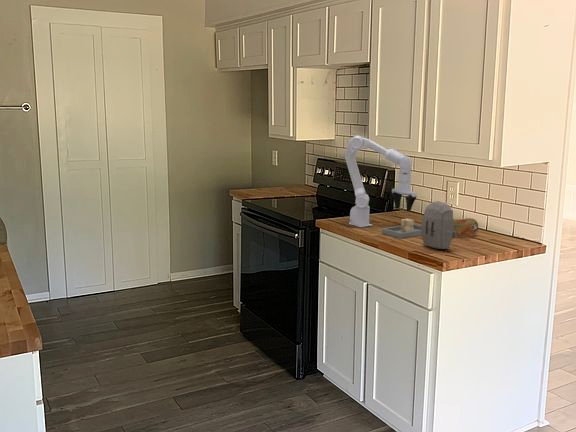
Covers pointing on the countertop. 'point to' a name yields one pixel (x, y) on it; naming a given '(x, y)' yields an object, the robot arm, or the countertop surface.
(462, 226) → the tin
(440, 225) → the grey rounded bag
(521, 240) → the countertop surface
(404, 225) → the block
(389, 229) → the tray
